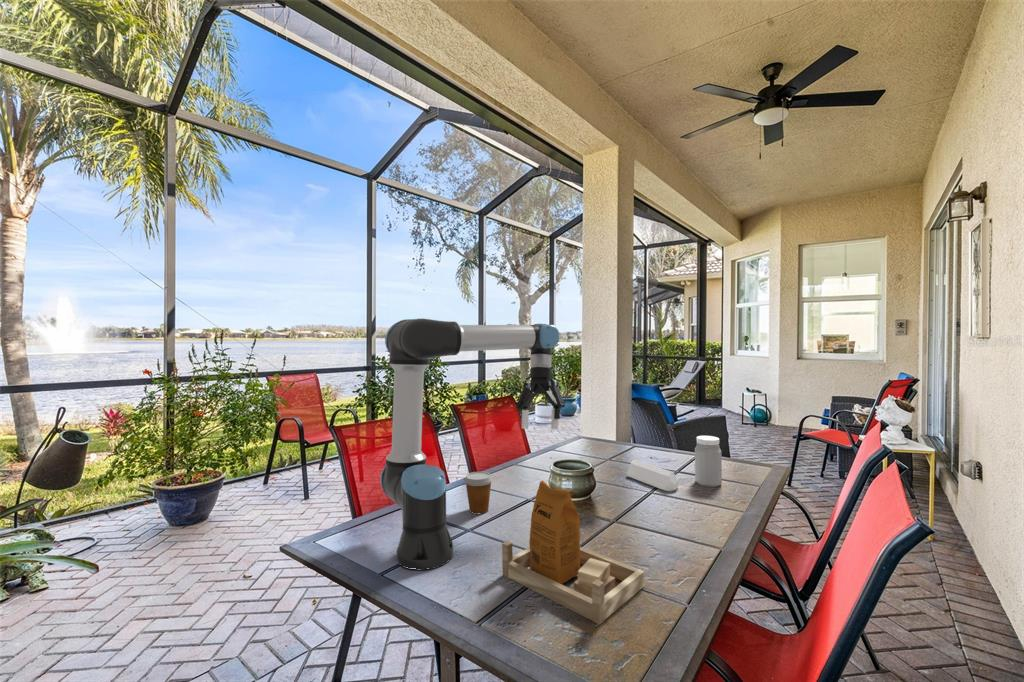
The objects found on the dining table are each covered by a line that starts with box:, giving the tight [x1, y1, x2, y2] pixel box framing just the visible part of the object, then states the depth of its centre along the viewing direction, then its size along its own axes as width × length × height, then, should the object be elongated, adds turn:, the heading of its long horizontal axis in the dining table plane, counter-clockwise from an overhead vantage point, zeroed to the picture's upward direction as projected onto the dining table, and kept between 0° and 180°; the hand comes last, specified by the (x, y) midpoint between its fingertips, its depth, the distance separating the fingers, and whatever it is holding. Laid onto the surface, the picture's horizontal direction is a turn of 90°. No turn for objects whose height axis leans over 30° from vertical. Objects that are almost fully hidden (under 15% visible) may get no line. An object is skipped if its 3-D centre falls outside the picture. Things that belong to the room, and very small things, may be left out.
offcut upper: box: [577, 558, 610, 588], centre depth 105 cm, size 7×5×3 cm
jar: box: [694, 435, 723, 488], centre depth 177 cm, size 10×10×18 cm
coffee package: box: [528, 480, 581, 585], centre depth 113 cm, size 10×12×22 cm
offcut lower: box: [573, 576, 616, 598], centre depth 105 cm, size 8×6×3 cm
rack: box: [501, 540, 646, 625], centre depth 109 cm, size 19×28×8 cm
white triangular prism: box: [626, 458, 680, 492], centre depth 179 cm, size 7×7×24 cm
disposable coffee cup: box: [464, 471, 493, 514], centre depth 154 cm, size 10×10×12 cm
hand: (539, 429), depth 155 cm, fingers open, 13 cm apart
